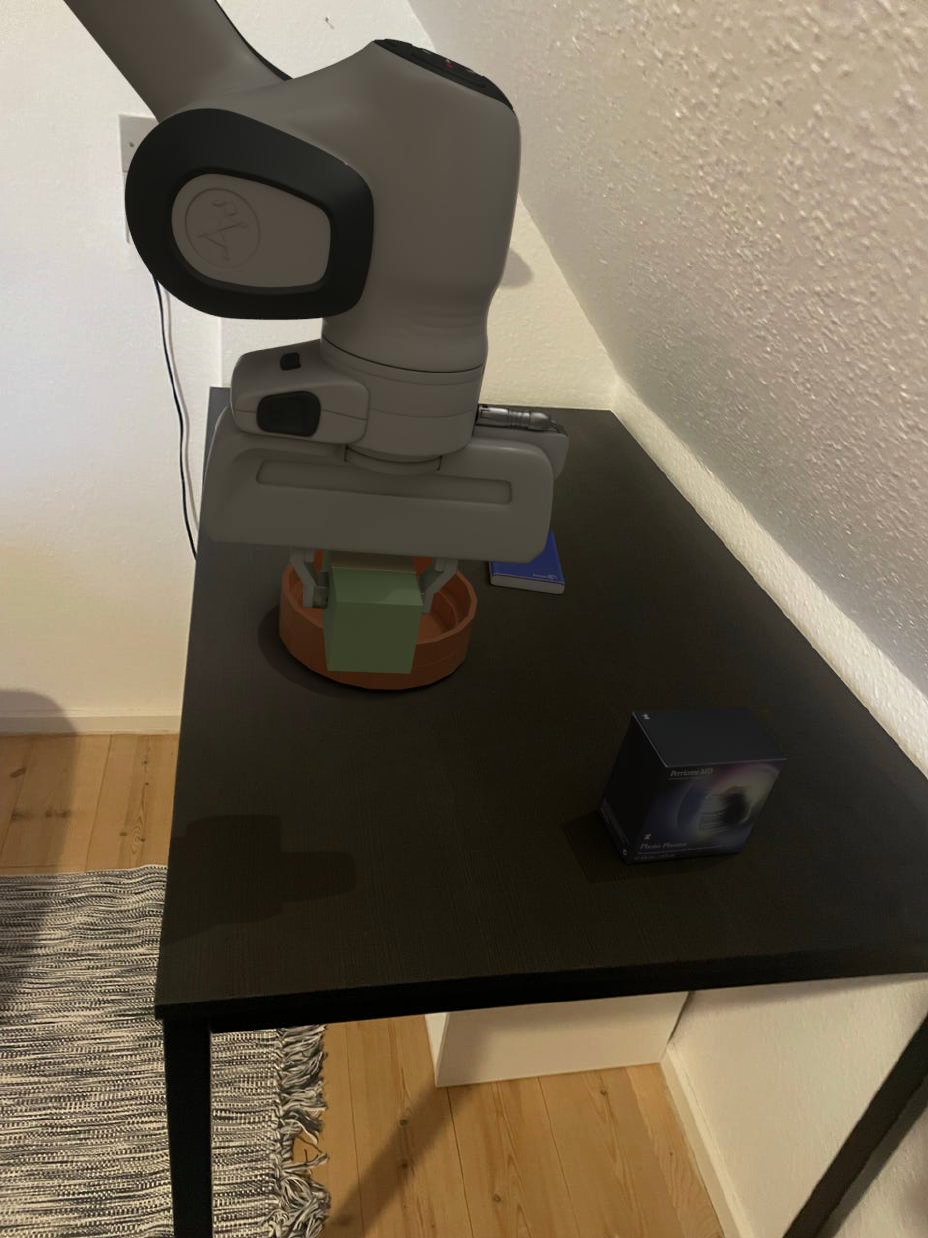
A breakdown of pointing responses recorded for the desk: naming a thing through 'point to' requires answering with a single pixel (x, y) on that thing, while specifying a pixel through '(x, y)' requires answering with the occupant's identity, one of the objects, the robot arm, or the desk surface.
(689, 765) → the small box
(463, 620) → the bowl
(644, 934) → the desk surface
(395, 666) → the package
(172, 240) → the robot arm
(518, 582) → the hard drive
